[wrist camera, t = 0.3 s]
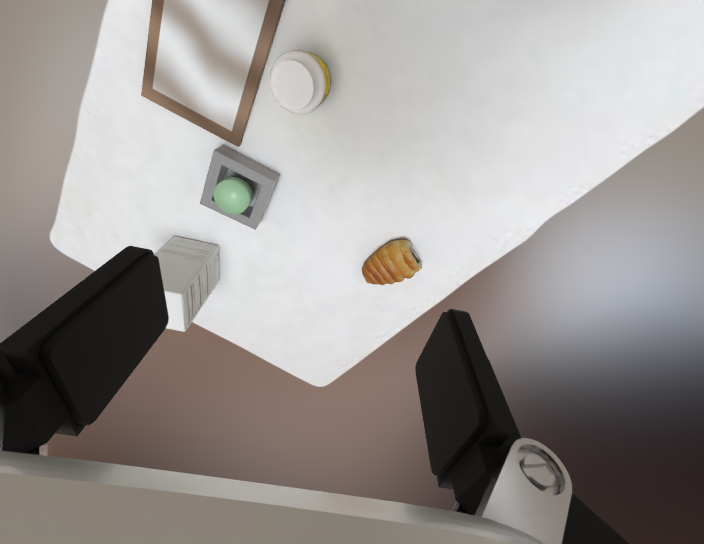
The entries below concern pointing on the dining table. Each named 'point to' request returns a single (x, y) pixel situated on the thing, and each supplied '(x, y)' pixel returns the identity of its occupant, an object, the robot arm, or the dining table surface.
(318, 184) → the dining table surface
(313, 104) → the supplement bottle
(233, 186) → the button
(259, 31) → the board
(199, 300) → the supplement box
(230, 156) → the button housing
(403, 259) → the pastry
